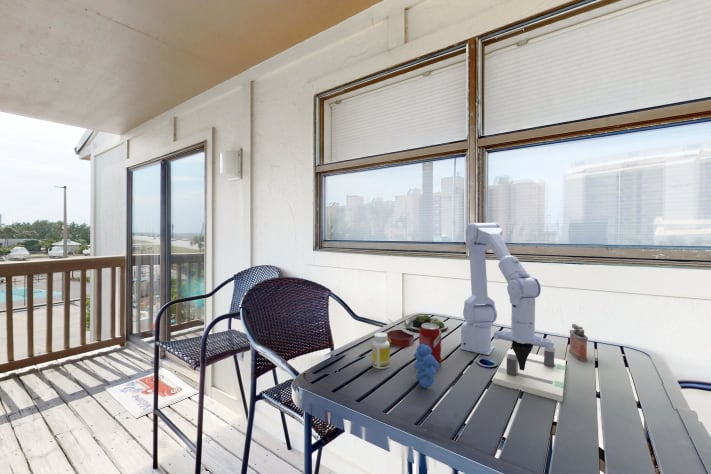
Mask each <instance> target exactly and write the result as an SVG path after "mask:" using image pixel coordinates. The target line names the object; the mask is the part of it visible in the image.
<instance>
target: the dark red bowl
mask: <svg viewBox="0 0 711 474" xmlns="http://www.w3.org/2000/svg"><path fill="white" fill-rule="evenodd" d="M388 320H389V321H390V323H392V324H393V325H394V326H395V327H397V328H398V329H394V330H390V331H388V332H387V333H386V334H387V341H388V342H389V345H391V346H392V347H397V348H399V347H400V348H405V347H406V348H407V347H411V346H413V345H414V344H415V343H414V341H415V340H414V339H415V334H414V333H413V331H412V332H411V331H410V330H407V329H405V328H403V327H401V326H399V325H397V324H395V323H394V322H393V321H392V320H391V319H390V318H389V319H388Z"/></svg>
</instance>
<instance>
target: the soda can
mask: <svg viewBox="0 0 711 474" xmlns="http://www.w3.org/2000/svg"><path fill="white" fill-rule="evenodd" d="M420 344H424V345H427V346H429V347H430V348H431V350H432V352H431V355H432V356H433V357H434V358H435V359H436V361H437V362H438V363H439V364H440V365H441V364H442V332H441V331H440V329H439V325H437V324H433V323H432V322H431V323H424V324H422V325H421V328H420V330H419V332H418V346H419V345H420Z"/></svg>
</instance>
